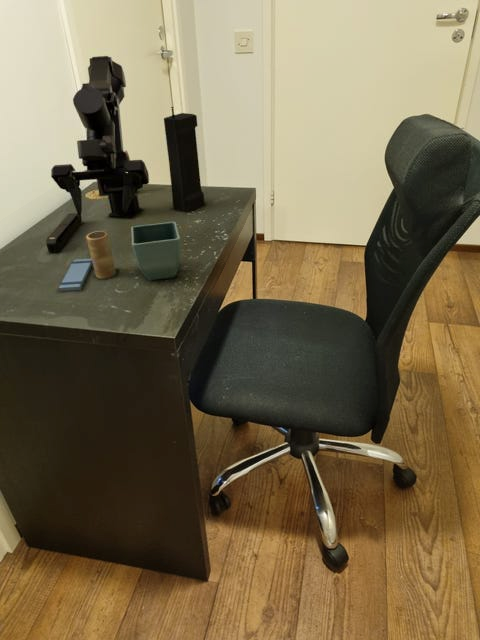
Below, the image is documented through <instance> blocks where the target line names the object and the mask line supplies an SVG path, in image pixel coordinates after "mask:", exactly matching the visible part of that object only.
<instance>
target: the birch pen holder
mask: <svg viewBox="0 0 480 640" xmlns="http://www.w3.org/2000/svg"><path fill="white" fill-rule="evenodd" d="M85 238H86V242H87V245H88V249H89V253H90V259H92V262H93V264H92V266H93V269H94V273H95V277H96V278H97V279H102V280H103V279H104V280H105V279H110V278H113V277H114V276H115V275H116V274H117V270H116V266H115V261H114V257H113V253H112V247H111V244H110V243H111V242H110V239H109V235H108V232H106V231H104V230H97V231H92V232H90V233H88V234H87V235H86V236H85Z"/></svg>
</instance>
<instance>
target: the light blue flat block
mask: <svg viewBox="0 0 480 640" xmlns="http://www.w3.org/2000/svg"><path fill="white" fill-rule="evenodd" d="M92 266H93V262H92V258H79V259H73V261H71V264H70V266H69V268H68V270H67V271H66V273H65V275H64V278H63V279H62V280H61V282H60V283H59V287H58V290H59V292H70V291H72V292H73V291H81V290H82V288H83V285H84V284H85V282H86V280H87V276H88V275H89V272H90V270H91V268H92Z"/></svg>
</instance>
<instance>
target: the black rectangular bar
mask: <svg viewBox="0 0 480 640" xmlns="http://www.w3.org/2000/svg"><path fill="white" fill-rule="evenodd" d="M82 221H83V218H82V215H81V216H79V215H78V213H77V212H69V213H68V214H67V215H66V216H65V217H64V218H63V220H62V221H60V223H59V224H58V225H57V226H56V227H55V229H54V230H53V231H52V232H50V234H49V235H48V236H47V238H46V240H45V244H46V248H47V251H48V253H49V254H50V253H59V252H61V250H62V249H63V247H64V246H65V245H66V243H67V242H68V241H69V239H70V238H72V236H73V234H74V233H75V232H76V231H77V230H78V229H79V227H81V225H82V224H83V223H82Z"/></svg>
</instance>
